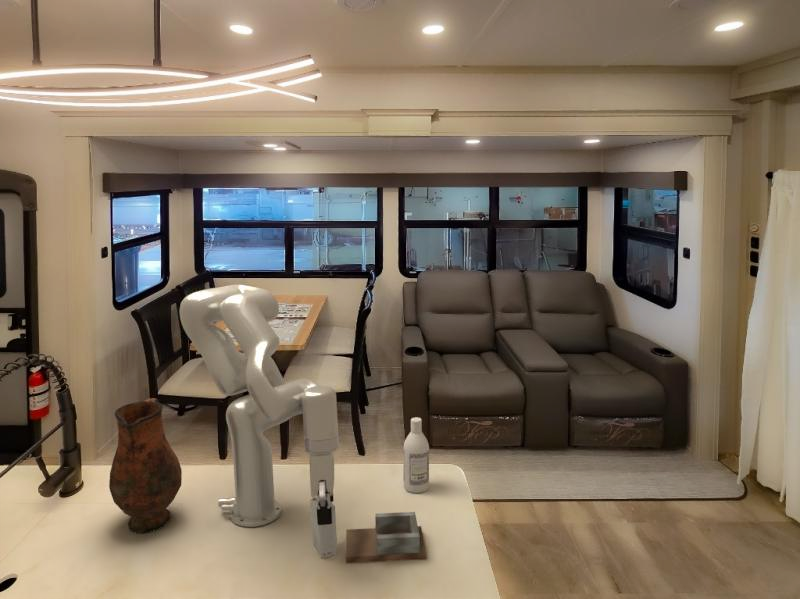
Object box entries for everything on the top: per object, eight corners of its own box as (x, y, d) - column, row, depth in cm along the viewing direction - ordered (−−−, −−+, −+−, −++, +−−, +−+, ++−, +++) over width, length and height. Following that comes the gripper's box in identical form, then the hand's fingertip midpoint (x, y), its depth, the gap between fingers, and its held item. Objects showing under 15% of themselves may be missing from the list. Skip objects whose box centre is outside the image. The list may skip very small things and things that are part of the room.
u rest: (346, 563, 143) (345, 540, 142) (346, 535, 154) (345, 514, 153) (426, 558, 144) (426, 536, 143) (421, 531, 155) (421, 510, 154)
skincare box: (338, 554, 146) (337, 506, 144) (319, 559, 144) (318, 510, 142) (329, 540, 152) (327, 493, 149) (311, 545, 150) (309, 498, 147)
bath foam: (434, 488, 176) (434, 419, 171) (414, 496, 171) (414, 426, 167) (417, 479, 181) (417, 412, 177) (398, 486, 177) (398, 418, 172)
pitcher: (102, 542, 151) (89, 423, 145) (133, 496, 172) (122, 390, 166) (174, 539, 152) (163, 421, 146) (196, 494, 173) (188, 389, 167)
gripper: (307, 428, 150) (311, 495, 154) (301, 459, 134) (306, 534, 137) (339, 426, 151) (342, 493, 154) (337, 457, 134) (341, 532, 137)
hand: (325, 512), depth 145 cm, fingers open, 9 cm apart
